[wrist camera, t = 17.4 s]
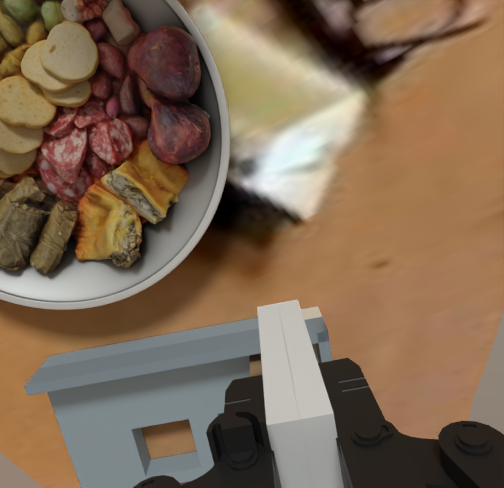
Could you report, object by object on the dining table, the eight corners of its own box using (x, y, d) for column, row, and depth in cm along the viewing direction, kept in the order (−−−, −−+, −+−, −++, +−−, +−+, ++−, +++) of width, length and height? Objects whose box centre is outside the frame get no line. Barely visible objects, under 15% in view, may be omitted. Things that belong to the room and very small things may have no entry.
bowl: (29, 339, 45) (-15, 382, 37) (-177, 64, 38) (-282, 48, 30) (288, 201, 42) (298, 217, 34) (116, -128, 35) (80, -199, 27)
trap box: (93, 481, 49) (75, 523, 44) (49, 355, 45) (24, 386, 40) (339, 438, 48) (351, 476, 43) (317, 306, 44) (327, 330, 39)
